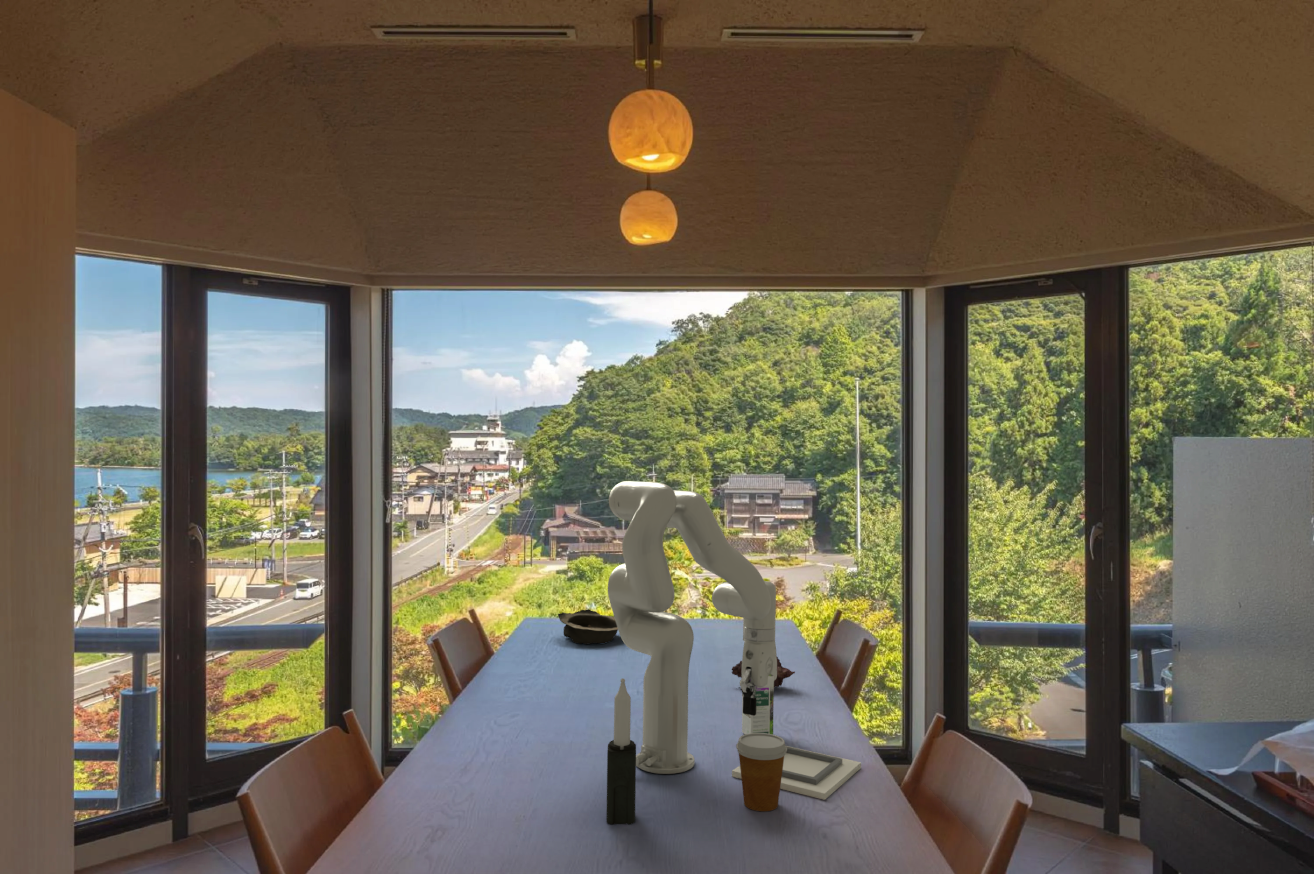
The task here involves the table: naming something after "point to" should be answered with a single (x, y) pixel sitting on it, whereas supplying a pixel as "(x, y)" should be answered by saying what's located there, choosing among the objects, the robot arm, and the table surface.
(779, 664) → the pine cone
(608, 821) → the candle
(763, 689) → the syrup box
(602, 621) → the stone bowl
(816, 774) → the baseplate
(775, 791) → the disposable coffee cup
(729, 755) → the table surface
